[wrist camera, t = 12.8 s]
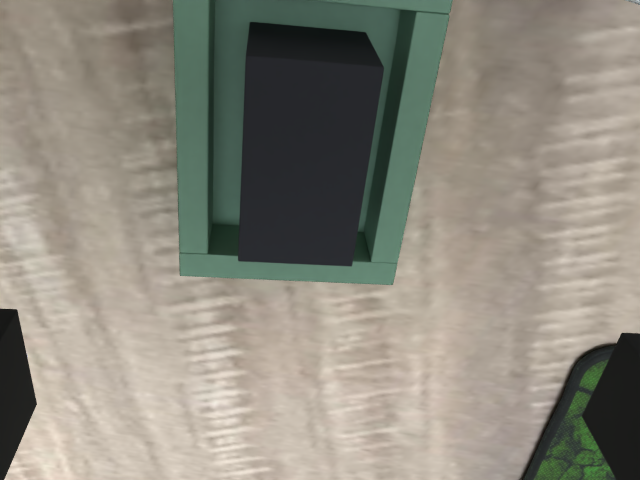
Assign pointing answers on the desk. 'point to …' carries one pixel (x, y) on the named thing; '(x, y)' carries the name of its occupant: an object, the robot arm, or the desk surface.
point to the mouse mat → (573, 430)
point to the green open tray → (227, 127)
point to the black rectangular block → (305, 142)
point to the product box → (634, 1)
